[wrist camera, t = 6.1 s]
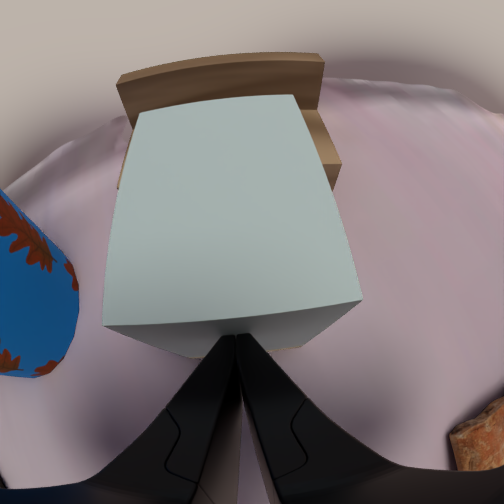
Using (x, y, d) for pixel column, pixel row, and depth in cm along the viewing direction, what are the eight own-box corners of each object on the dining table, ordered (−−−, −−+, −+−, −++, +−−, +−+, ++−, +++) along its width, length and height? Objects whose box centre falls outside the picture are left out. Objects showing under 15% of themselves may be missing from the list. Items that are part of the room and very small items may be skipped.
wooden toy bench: (328, 203, 18) (359, 108, 11) (139, 223, 18) (88, 138, 10) (305, 137, 21) (317, 53, 14) (150, 153, 21) (121, 74, 14)
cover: (300, 347, 14) (363, 299, 6) (190, 358, 14) (101, 325, 5) (267, 165, 20) (271, 51, 11) (187, 174, 20) (158, 64, 11)
